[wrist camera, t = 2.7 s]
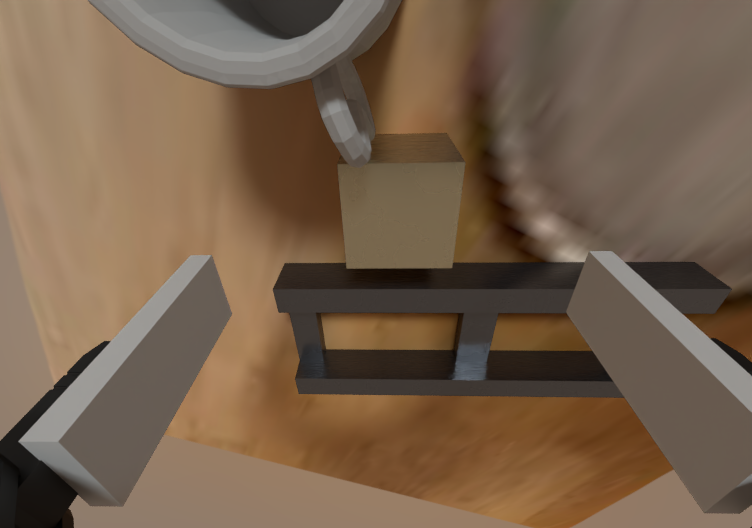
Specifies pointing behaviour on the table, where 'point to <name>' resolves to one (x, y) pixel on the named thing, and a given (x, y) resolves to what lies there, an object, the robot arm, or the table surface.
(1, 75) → the table surface
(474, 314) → the rail
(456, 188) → the brushed top tan cube
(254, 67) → the mug
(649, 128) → the table surface
